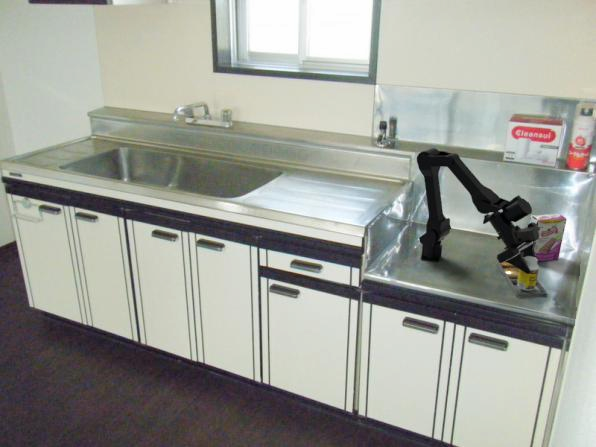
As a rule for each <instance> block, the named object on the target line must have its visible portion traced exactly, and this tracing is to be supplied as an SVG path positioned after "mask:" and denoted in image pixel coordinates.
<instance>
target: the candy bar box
mask: <svg viewBox="0 0 596 447" xmlns="http://www.w3.org/2000/svg"><path fill="white" fill-rule="evenodd" d="M529 217H530V218H529V223H533V222H534V223H535V224H536V225H537V226H538V228H540V230H539V231H538V232H539V238H538V239H537V240H536V241H533V242H532V243H535V242H536V244H535V247H534V252H535V255H536V258H537V260H538V261H537V262H538V263H542V262H551V261H553V262H554V261H559V257H560V252H561V247H562V243H563V238H564V233H565V229H566V225H567V218H566V217H565V216H564V215H561V213H552V214H551V213H549V214H548V213H547V214H537V215H535V214H532V215H530V216H529Z"/></svg>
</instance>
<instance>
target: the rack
mask: <svg viewBox="0 0 596 447" xmlns="http://www.w3.org/2000/svg"><path fill="white" fill-rule="evenodd" d="M495 263H496V264H495V266H496V268H497V269H498V270H499V272H500V275H502V276H501V277H503V279H504V280H505V282H506V283H507V285H508V286H509V288H510V289H511V292H512V293H513V294H514V296H515V298H519V297H521V298H522V297H526V298H527V297H528V298H533V297H535V298H537V297H538V298H539V297H540V298H548V293H547V291H546V290H545V289H544V287H543V286H542V284H541V283H540V282H539V280H538V279H537V280H536V285H535V287H536V288H537V290H539V292H535V291H533V292H531V291H530V292H529V291H526V292H525V291H524V292H523V291H521V292H520V291H518V289H516V287H515V285H514V284H517V281H518V275H519V268H517V267H515V266H513V265H511V264H510V263H508V262H507V263H506V262H502V263H499V261H496V262H495ZM504 267H505V269H504Z"/></svg>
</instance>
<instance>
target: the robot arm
mask: <svg viewBox="0 0 596 447" xmlns="http://www.w3.org/2000/svg"><path fill="white" fill-rule="evenodd" d="M416 163H417V167H418V170H419V172H420V173H421V174H422V176H423V178H424V179H423V180H424V187H425V195H426V203H427V211H428V212H427V213H428V218H427V222H426V225H425V226H426V227H425V233H424V234H422V235H420V236H419V237H418V240H419V243H420V244H421V245H422V246H421V255H420V260H423V261H424V260H425V261H432V262H440V261H441V260H440V259H441V258H442V252H443V244H442V241H443V240H444V239H445V238H446V237H448V235H449V234H450V232H451V230H452V227H451V219H450V218H449V217H447V218H446V216H445V215H444V211H443V204H442V202H443V201H442V194H441V186H440V178H439V173H440V169H441V167H446V168H448V170H450V172H451V173H452V174H453V175H454V176H455V178H456V179H457V180H458V182H460V184H461V185H462V186H463V188H464V189H466V191H467V192H468V193H469V195H470V198H471V201H472V203H473V205H474V207H475V209H476V210H477V211H478V213H480V214H484V215H483V221H482V225H486V224H487V223H490V225H491V226H492V227H493V229H494V230H495V232H496V234H497V235H498V236H496V238H497V240H498V241H499V240H501V241H502V243H503V244H504V245H505V247H504V248H503V249H504V250H503V251H501V252H499V253H498V254H497V255H496V260H497V262H499V263H510V264H511V265H513V266H515V267H514V268H518V269H520V270H522V271H523V272H525V273H527V274H530V273H531V272H530V269H529V267H528V266H527V264H526V262H525V260H524V258H525V257H526V256H532V257H535V258H536V255H535V252H534V247H535V244H536V242H535V243H532V242H533V241H536V240H537V239H538V238H539V232H538V231H539V230H540V228H538V226H537V225H536V224H535V223H534V222H533V223H530V222H529V223H528V224H527V226H526V227H524V228H522V227H520V225H517V224H516V225H515V224H514V223H517V222H518V221H521V220H523V219H524V218H526V217H527V216H529V215H530V214H532V213H533V209H532V208H533V207H532V206H531V204H530V202H529V201H527V200H526V199H525V198H522V197H521V196H520V195H516V196H515V197H513V198H512V199H511V200H507V199H504V198H502V197H499V195H498V194H497V193H496V192H494V191H493V189H491V188H489V187H487V186H485V185H483V183H482V182H481V181H479V179H478V178H477V177H476V176H475V174H474V173H473V172H472V171H471V169H469V167H468V166H467V165H466V164H465V163H464V161H463V160H462V159H461V157H460V155H459V154H458V153H453V152H449V151H445V150H438V149H437V148H436V147H431V148H428V149H425V150H423V151H421V152H419V153H418V154H417V156H416ZM501 210H502V211H501ZM490 213H491V214H490ZM537 264H538V266H539V262H537ZM539 267H540V266H539Z"/></svg>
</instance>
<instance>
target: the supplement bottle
mask: <svg viewBox="0 0 596 447" xmlns="http://www.w3.org/2000/svg"><path fill="white" fill-rule="evenodd" d="M523 258H524V257H523ZM524 260H525V262H526V264H527V266H528V267H529V269H530V272H531V273H530V274H527V273H525V272H523V271H522V270H520V269H519V268H518V269H519V275H518V281H517V283H516V285H517V287H518V288H519V289H521V290H522V291H526V292H529V291H530V292H531V291H534V290H535V288H536V280H538V275H539V271H540V270H539V268H540V266H538V265H539V263H538V264H537V261H538V260H537V258H535V257H532V256H526V257H525V258H524Z"/></svg>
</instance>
